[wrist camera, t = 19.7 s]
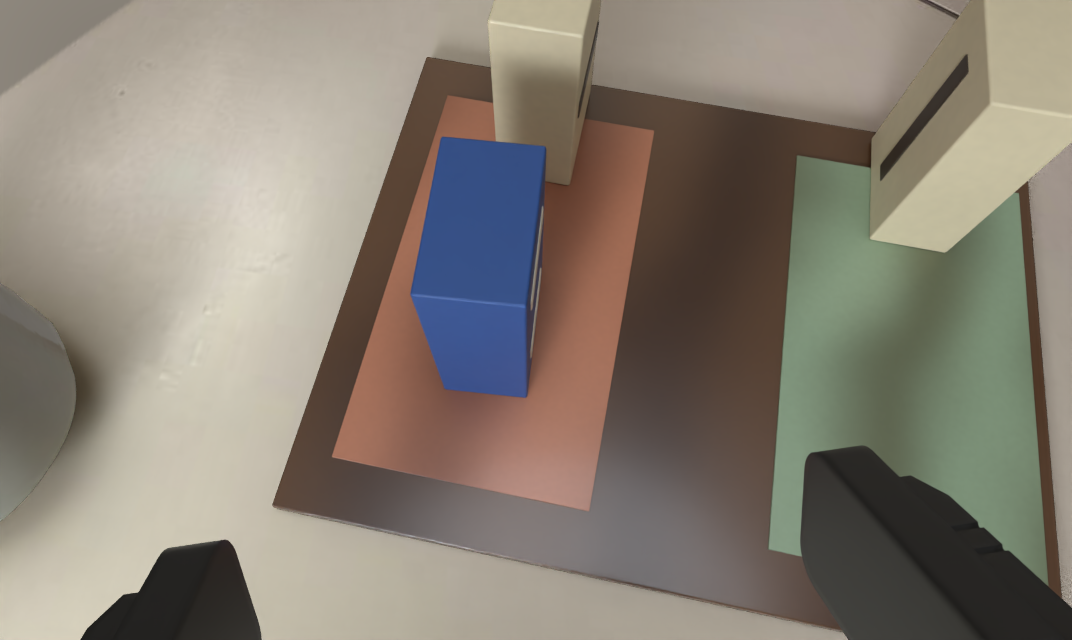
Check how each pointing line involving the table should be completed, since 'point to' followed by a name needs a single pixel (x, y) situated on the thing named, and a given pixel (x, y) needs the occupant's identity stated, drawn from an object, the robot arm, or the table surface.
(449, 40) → the table surface
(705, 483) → the brown flat rectangular board
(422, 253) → the blue rectangular block
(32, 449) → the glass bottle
